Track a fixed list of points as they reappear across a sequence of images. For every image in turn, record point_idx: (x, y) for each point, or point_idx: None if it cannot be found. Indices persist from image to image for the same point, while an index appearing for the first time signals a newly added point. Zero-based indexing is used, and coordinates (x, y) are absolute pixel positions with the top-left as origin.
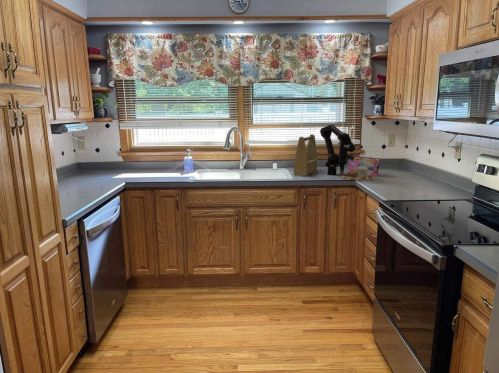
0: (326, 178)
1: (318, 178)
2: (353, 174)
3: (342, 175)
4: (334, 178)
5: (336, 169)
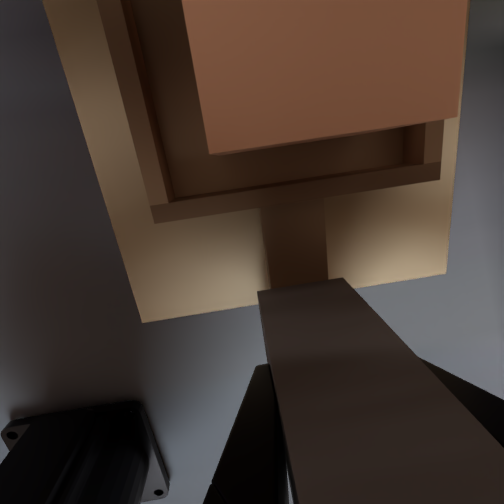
0: None
1: None
2: None
3: None
4: None
5: (43, 497)
